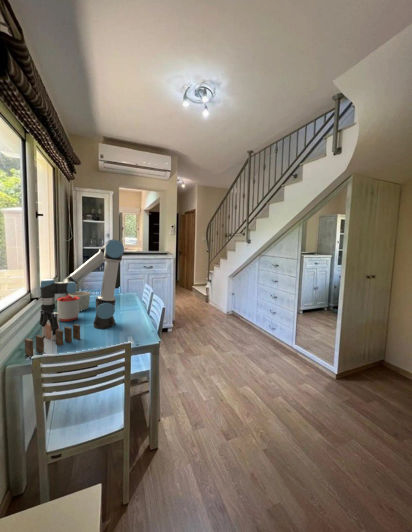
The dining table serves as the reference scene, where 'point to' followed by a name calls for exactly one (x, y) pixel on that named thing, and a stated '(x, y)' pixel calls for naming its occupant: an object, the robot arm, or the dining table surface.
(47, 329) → the domino
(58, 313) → the ink cartridge box
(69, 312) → the citrus juicer
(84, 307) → the planter
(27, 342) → the domino
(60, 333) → the domino
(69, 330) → the domino
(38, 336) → the domino
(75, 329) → the domino
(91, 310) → the dining table surface
